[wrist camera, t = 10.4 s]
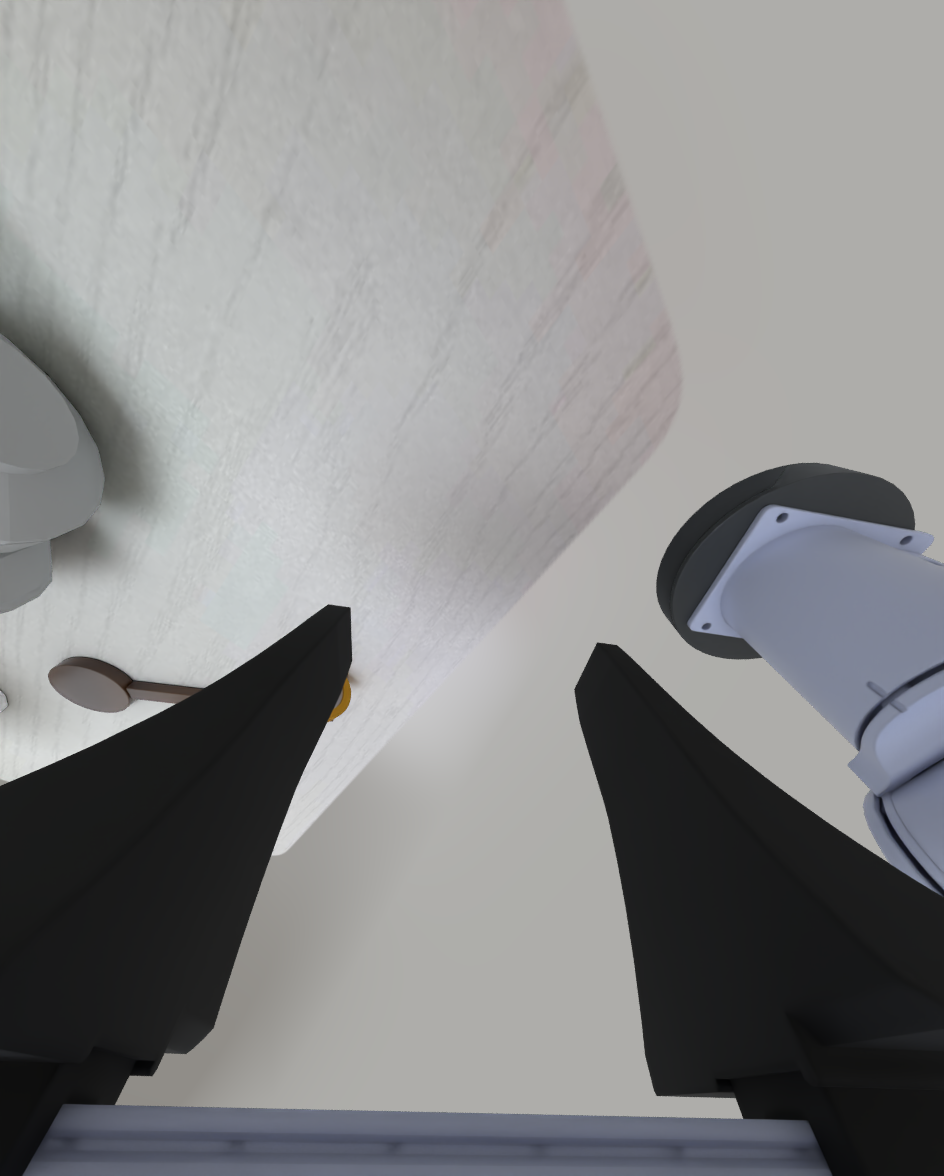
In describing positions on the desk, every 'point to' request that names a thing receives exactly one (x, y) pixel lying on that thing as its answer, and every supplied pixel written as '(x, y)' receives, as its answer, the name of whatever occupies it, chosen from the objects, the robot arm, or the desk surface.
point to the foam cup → (3, 701)
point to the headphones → (39, 475)
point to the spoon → (108, 686)
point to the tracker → (342, 701)
